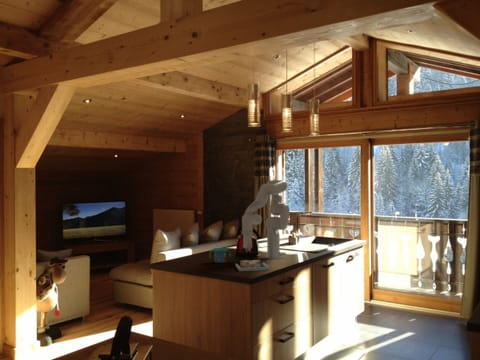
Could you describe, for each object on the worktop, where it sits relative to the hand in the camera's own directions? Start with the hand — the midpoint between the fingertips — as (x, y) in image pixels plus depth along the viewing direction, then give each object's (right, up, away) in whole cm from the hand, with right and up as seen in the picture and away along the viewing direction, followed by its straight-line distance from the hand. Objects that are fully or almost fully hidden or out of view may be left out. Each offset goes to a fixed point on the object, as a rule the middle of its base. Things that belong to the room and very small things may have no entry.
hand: (248, 257), depth 336 cm
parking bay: (+2, -4, -18) cm, 18 cm away
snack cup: (-21, -4, +4) cm, 22 cm away
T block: (+2, -4, -17) cm, 17 cm away
